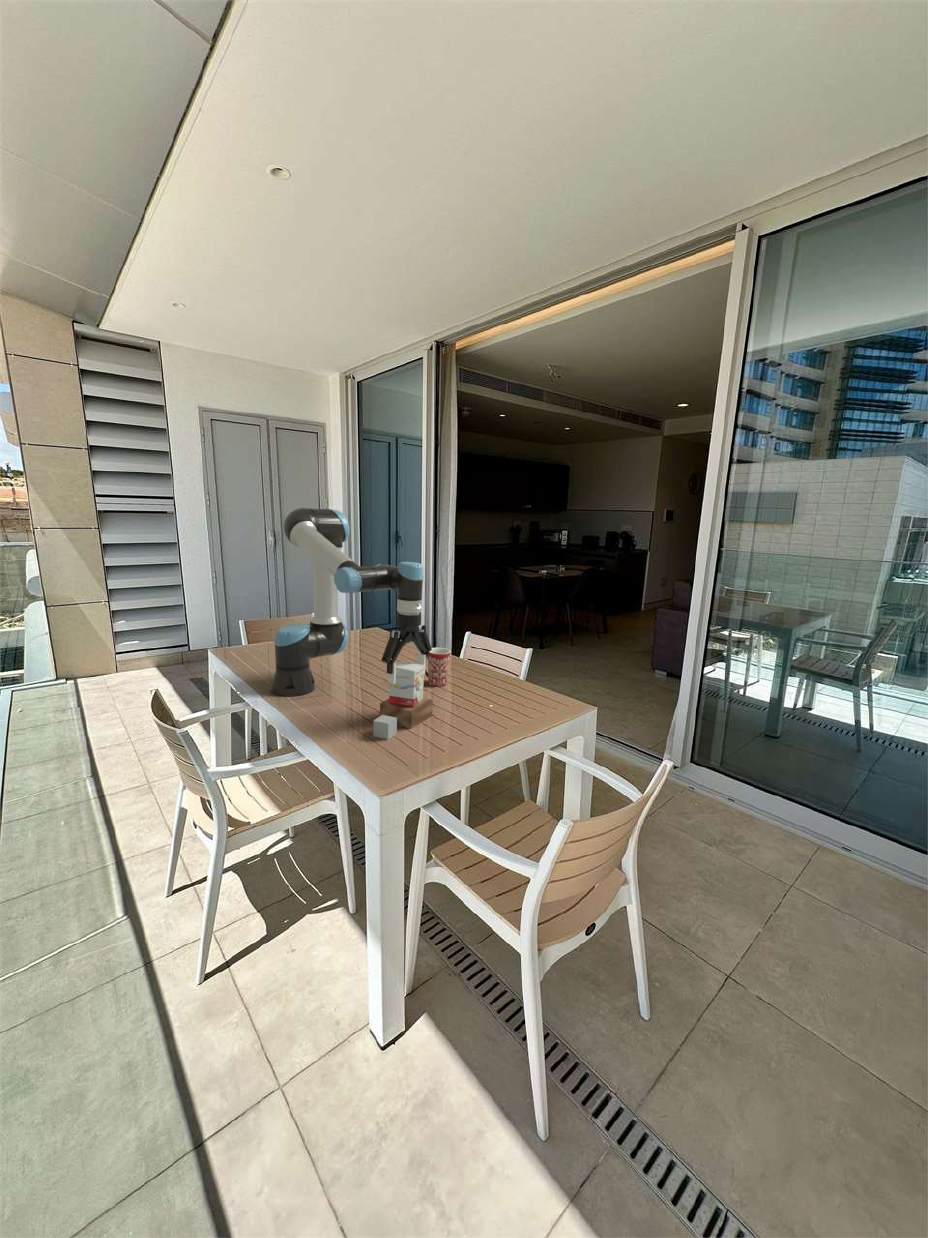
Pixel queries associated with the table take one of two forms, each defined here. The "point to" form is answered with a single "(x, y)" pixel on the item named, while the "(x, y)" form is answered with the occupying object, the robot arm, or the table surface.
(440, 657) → the mug
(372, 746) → the table surface
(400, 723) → the walnut block
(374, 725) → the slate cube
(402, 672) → the ink box
